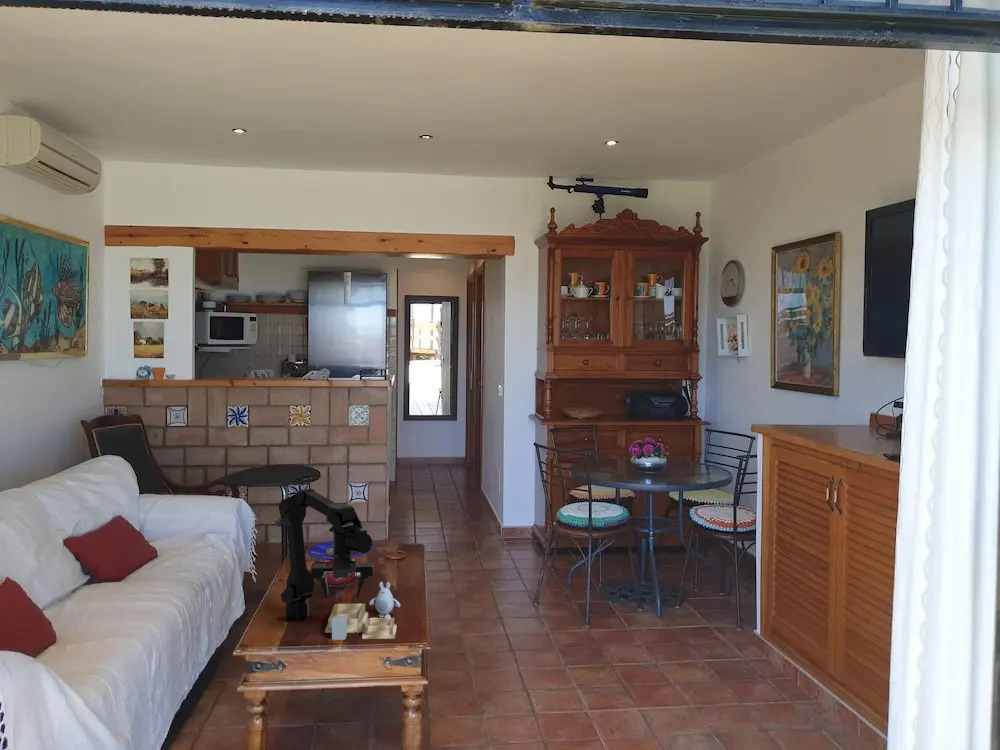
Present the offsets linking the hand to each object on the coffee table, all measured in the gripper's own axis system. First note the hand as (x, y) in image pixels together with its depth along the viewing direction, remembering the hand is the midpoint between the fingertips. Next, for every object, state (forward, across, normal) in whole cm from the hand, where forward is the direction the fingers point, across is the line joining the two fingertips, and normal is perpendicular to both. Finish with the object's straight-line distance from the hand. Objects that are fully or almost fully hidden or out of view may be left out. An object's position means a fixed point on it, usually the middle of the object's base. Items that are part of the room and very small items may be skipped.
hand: (342, 597), depth 233 cm
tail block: (+12, -1, -1) cm, 12 cm away
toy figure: (+12, +13, +15) cm, 23 cm away
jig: (+12, +1, +10) cm, 16 cm away
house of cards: (+13, +2, +59) cm, 60 cm away
